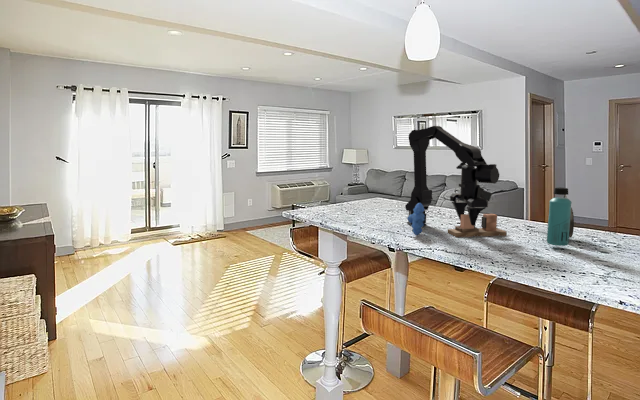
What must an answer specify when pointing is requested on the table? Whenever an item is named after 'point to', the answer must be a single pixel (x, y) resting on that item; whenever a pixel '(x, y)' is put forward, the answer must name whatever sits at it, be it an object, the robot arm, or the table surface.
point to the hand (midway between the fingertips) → (467, 222)
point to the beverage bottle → (559, 219)
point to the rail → (487, 228)
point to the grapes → (417, 219)
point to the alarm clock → (571, 221)
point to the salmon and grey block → (466, 222)
